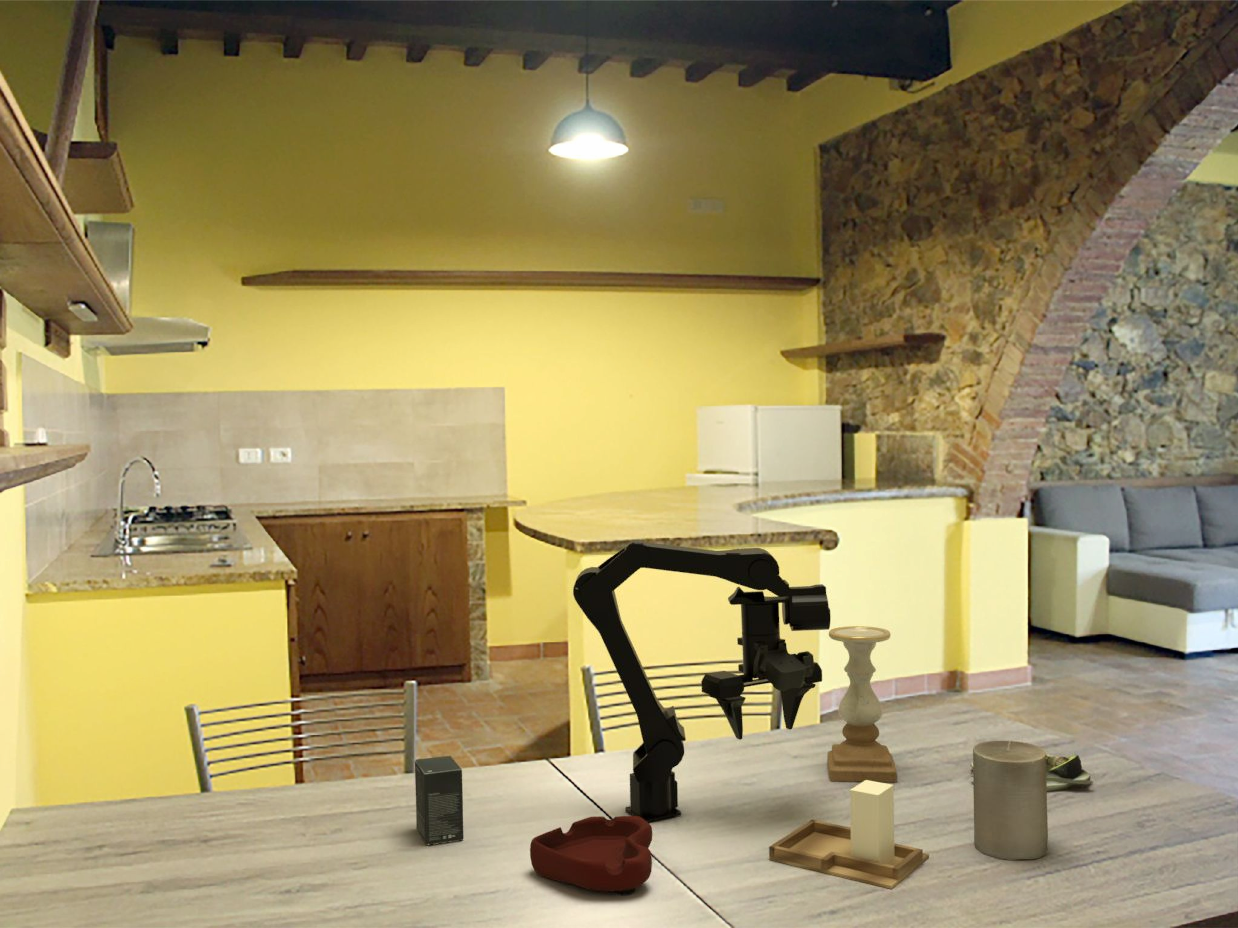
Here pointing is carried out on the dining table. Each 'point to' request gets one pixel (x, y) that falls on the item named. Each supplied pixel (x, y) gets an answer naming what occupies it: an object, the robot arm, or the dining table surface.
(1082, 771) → the salad plate
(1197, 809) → the dining table surface
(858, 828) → the panel block
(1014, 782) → the pillar candle
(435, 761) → the box
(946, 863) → the dining table surface
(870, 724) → the candle holder
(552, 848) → the ashtray
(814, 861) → the keyhole frame
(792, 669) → the robot arm
